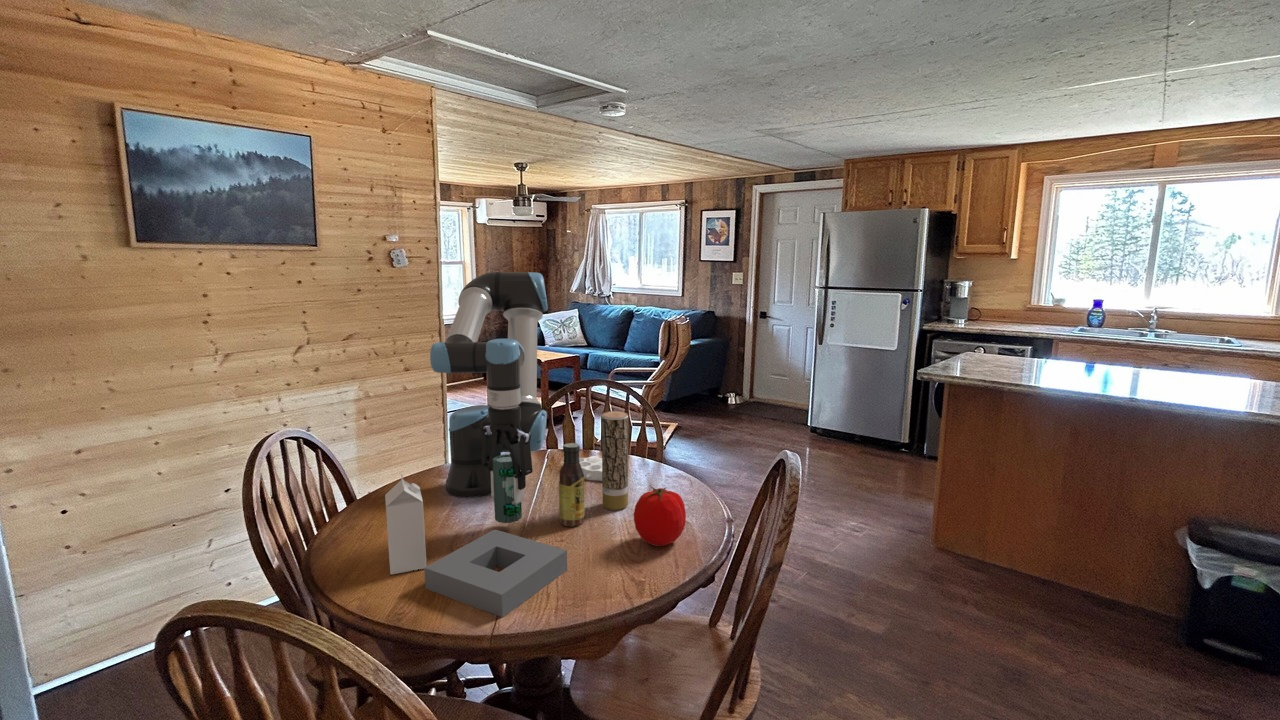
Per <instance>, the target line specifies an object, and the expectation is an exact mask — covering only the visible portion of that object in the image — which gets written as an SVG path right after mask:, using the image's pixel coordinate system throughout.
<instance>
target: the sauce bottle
mask: <svg viewBox="0 0 1280 720" xmlns="http://www.w3.org/2000/svg"><path fill="white" fill-rule="evenodd" d="M562 449H563V450H562V452H563V464H562V466H561V467H560V469H559V473H558V474H559V476H558V477H559V482H558V514H559V522H560V524H561V525H562V526H565V527H577V526H580V525H582V524H583V523H584V521H585V518H584V517H585V478H584V474H583V471H582V468H581V465H580V462H579V461H580V460H579V458H580V451H581V449H580V444H579V443H576V442H571V443H570V442H569V443H568V442H567V443H565V444H563V446H562Z"/></svg>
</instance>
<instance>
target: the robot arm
mask: <svg viewBox="0 0 1280 720" xmlns="http://www.w3.org/2000/svg"><path fill="white" fill-rule="evenodd" d="M545 284H546V283H545V279H544V276H543V274H542V273H540V272H534V271H533V272H532V271H531V272H529V271H524V272H523V271H518V272H517V271H508V272H507V271H502V272H500V271H499V272H498V271H490V272H485V273H484V274H481V275H479V276H476V277H475V278H473V279H472V280H471V281H469V282H468V283H466V285H465V286H464V287H463V288H462V290H461V291H460V294H459V296H458V309H457V312H456V314H455V316H454V319H453V321H452V324H451V327H450V329H449V332H448V334H447V337H446V339H445V342H444V341H441V342H434V343H433V344H432V345H431V348H430V353H429V354H430V355H429V356H430V357H429V360H430V366H431V369H432V370H433V372H435V373H438V374H439V373H440V374H462V373H463V374H466V373H467V374H470V373H479V374H480V373H482V374H483V373H486V379H487V380H486V381H487V382H486V383H487V387H486V388H487V404H488V405H487V404H486V405H485V404H479V405H472V406H467V407H463V408H459V409H458V410H456V411H454V412H452V413H451V414H450V416H449V426H448V427H449V428H448V432H449V445H450V446H449V447H450V449H449V451H450V467H449V469H448V475H447V478H446V480H445V492H446V493H447V494H448V495H450V496H453V497H458V498H476V497H477V498H478V497H483V496H487V495H491V497H492V498H494V485H493V458H495V457H497V456H500V455H502V453H509V454H510V456H511V459H512V463H513V466H514V470H515V473H516V476H514V477H513V482H514V503H516V504H517V503H519V502H521V503H522V501H525V489H526V487H527V485H526V483H527V481H526V479H527V478H526V476H529V475H531V474H532V473H533V470H534V469H533V461H532V452H538V451H540V450H541V449H542V447H543V445H544V441H545V436H546V430H547V419H548V413H547V411H546V410H545V409H542V407H543V406H542V403H541V402H540V401H539V400H538V398H537V395H538V394H537V391H538V390H537V387H538V383H537V380H538V379H537V377H538V322H539V321H540V320H541V319H542V318H543V317H544V315H543V314H544V313H543V312H547V311H548V310H549V309H548V299H547V294H546V286H545ZM492 311H493V312H495V311H497V312H503V315H502V316H503V317H504V319H506V320H507V322H508V323H507V338H495V339H491V340H490V339H489V340H488V341H487V342H486V341H484V342H483V341H481V342H480V341H479V342H478V340H479V337H480V334H481V331H482V328H483V326H484V321H485V319H486V315H488V314H489V313H490V312H492Z"/></svg>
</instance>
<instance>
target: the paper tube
mask: <svg viewBox="0 0 1280 720" xmlns="http://www.w3.org/2000/svg"><path fill="white" fill-rule="evenodd" d="M601 415H602V416H601V446H602V447H601V458H602V481H601V482H602V485H601V487H602V490H601V491H602V506H603V508H605V509H606V510H610V511H620V510H624V509H625V508H627V507H628V505H629V414H628V413H626V412H623V411H617V410H616V411H606V412H603V413H602V414H601Z"/></svg>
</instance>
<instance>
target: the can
mask: <svg viewBox="0 0 1280 720" xmlns="http://www.w3.org/2000/svg"><path fill="white" fill-rule="evenodd" d="M514 476H516V473H515V470H514V466H513V463H512V459H511V456H510V453H508V454H506V453H504V454H501V455H500V456H497V457H495V458H493V485H494V497H493V504H494V506H493V507H494V520H495V521H496V522H498V523H501V524H510V523H511V524H512V523H515V522H518V521H520V520H521V519H522V517H523V515H522V514H523V513H522V512H523V511H522V510H523V509H522V506H523V505H522V501H521V502H519V503H517V504H516V503H514V482H513V477H514Z"/></svg>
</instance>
